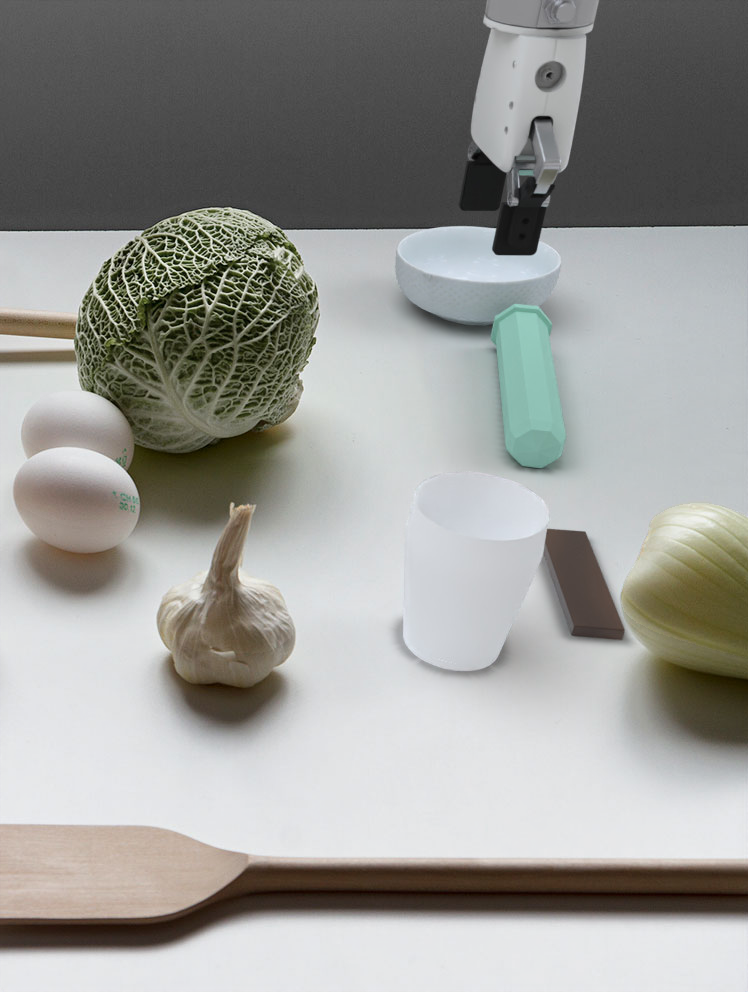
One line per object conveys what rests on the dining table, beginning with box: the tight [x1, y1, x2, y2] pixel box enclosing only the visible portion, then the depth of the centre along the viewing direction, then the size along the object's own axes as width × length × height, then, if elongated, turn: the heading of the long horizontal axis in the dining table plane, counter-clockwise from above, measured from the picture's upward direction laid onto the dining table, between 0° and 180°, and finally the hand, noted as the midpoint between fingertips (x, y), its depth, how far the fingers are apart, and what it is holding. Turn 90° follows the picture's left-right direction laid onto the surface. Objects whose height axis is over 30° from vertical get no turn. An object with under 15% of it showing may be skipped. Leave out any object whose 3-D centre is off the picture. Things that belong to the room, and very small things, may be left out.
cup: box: [402, 471, 550, 672], centre depth 90 cm, size 9×9×12 cm
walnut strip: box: [543, 528, 626, 641], centre depth 99 cm, size 4×13×1 cm, turn 171°
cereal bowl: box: [394, 225, 562, 326], centre depth 141 cm, size 17×17×7 cm
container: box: [490, 304, 567, 469], centre depth 122 cm, size 6×6×25 cm
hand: (495, 230), depth 103 cm, fingers open, 9 cm apart
